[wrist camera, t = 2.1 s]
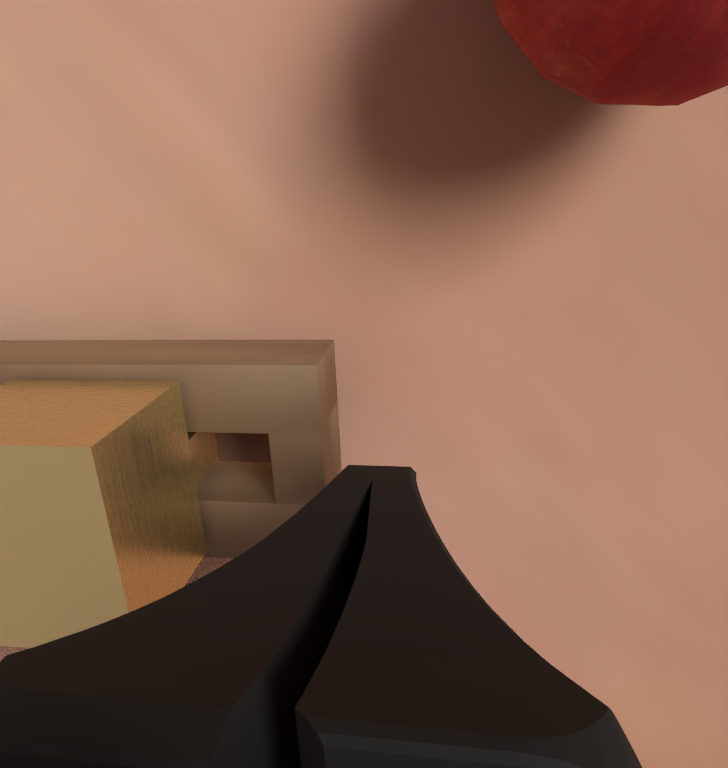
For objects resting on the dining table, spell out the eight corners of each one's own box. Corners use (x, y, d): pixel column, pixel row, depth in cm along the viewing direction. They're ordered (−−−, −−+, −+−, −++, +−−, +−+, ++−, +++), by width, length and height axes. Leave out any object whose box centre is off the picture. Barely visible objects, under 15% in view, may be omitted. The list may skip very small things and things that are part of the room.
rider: (233, 509, 15) (139, 657, 10) (99, 503, 16) (-49, 641, 11) (212, 356, 14) (91, 447, 9) (64, 355, 14) (-124, 441, 9)
